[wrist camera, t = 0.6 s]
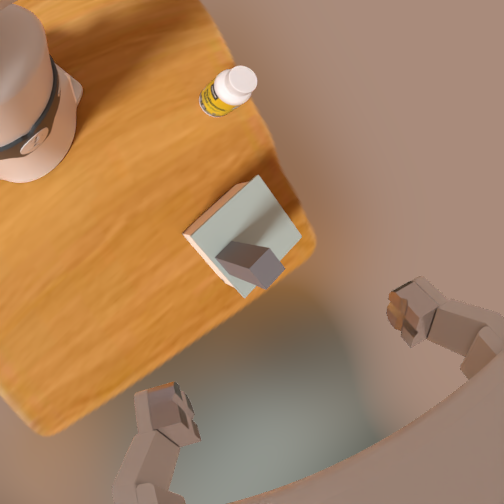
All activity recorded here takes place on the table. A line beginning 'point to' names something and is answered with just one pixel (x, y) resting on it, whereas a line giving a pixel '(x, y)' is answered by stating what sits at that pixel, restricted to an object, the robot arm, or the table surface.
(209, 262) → the carton
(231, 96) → the supplement bottle
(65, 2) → the table surface
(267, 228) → the carton lid
